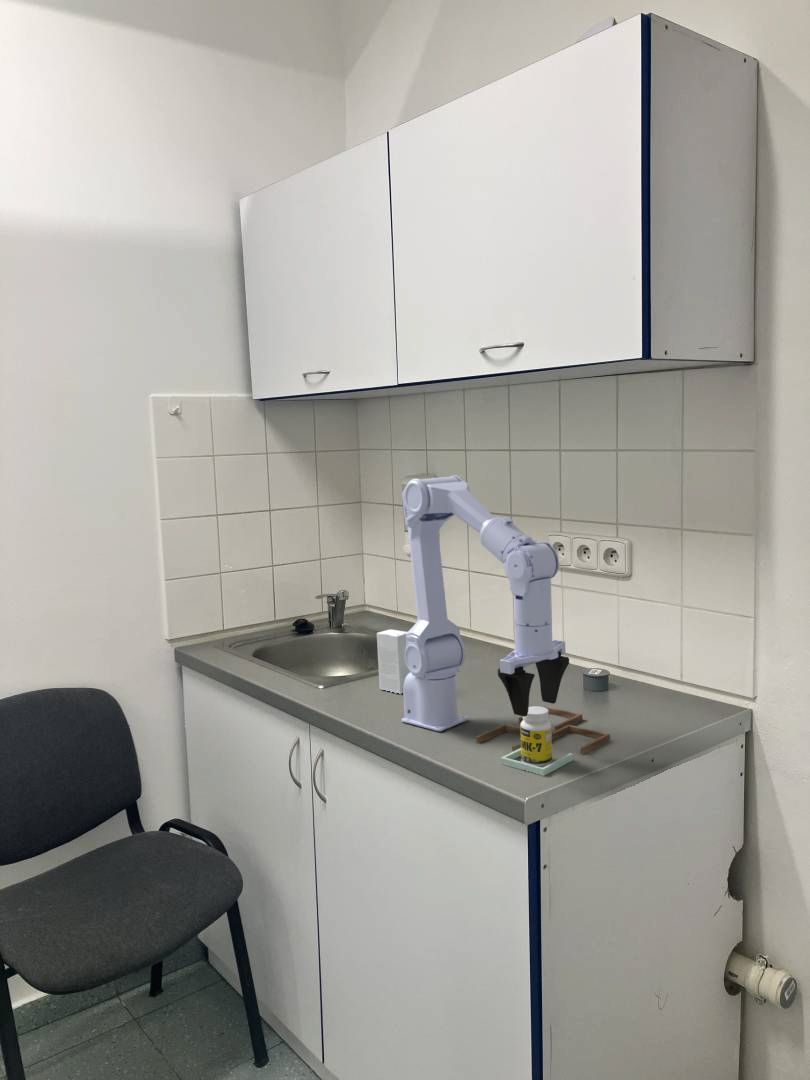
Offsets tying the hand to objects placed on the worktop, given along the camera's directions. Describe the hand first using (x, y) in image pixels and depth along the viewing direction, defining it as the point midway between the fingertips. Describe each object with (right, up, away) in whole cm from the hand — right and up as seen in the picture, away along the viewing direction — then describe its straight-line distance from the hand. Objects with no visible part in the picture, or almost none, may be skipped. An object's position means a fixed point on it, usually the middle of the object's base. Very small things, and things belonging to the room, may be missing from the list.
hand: (535, 708), depth 137 cm
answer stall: (0, -9, +1) cm, 9 cm away
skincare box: (-22, -5, +43) cm, 48 cm away
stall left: (+6, -6, +19) cm, 21 cm away
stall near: (-3, -8, +11) cm, 13 cm away
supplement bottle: (0, -9, +1) cm, 9 cm away
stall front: (+8, -7, +9) cm, 14 cm away
